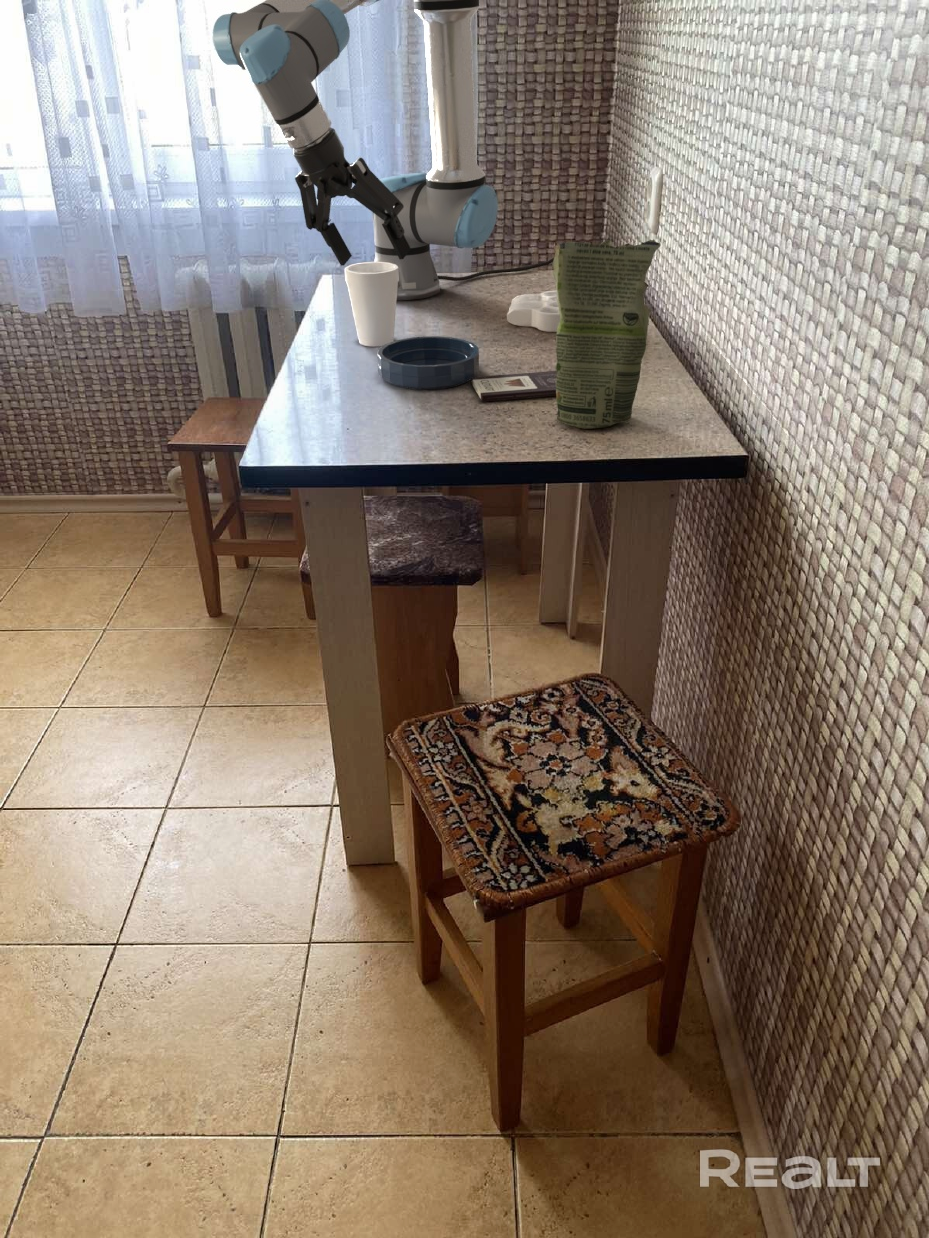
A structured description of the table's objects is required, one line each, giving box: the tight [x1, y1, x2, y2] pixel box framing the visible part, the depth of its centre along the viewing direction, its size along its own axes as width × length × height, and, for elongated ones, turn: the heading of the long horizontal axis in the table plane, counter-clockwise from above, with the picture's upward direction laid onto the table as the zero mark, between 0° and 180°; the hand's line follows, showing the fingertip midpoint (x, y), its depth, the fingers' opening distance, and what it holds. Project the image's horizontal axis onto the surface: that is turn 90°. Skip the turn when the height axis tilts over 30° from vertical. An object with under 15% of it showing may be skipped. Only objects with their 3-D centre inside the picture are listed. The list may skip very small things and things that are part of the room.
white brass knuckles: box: [506, 289, 560, 333], centre depth 183 cm, size 3×18×15 cm
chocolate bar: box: [470, 370, 557, 403], centre depth 149 cm, size 9×1×18 cm
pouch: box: [551, 237, 661, 430], centre depth 131 cm, size 11×12×25 cm
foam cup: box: [344, 261, 399, 347], centre depth 170 cm, size 10×9×13 cm
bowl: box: [376, 335, 480, 390], centre depth 155 cm, size 17×17×4 cm
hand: (375, 258), depth 161 cm, fingers open, 13 cm apart
